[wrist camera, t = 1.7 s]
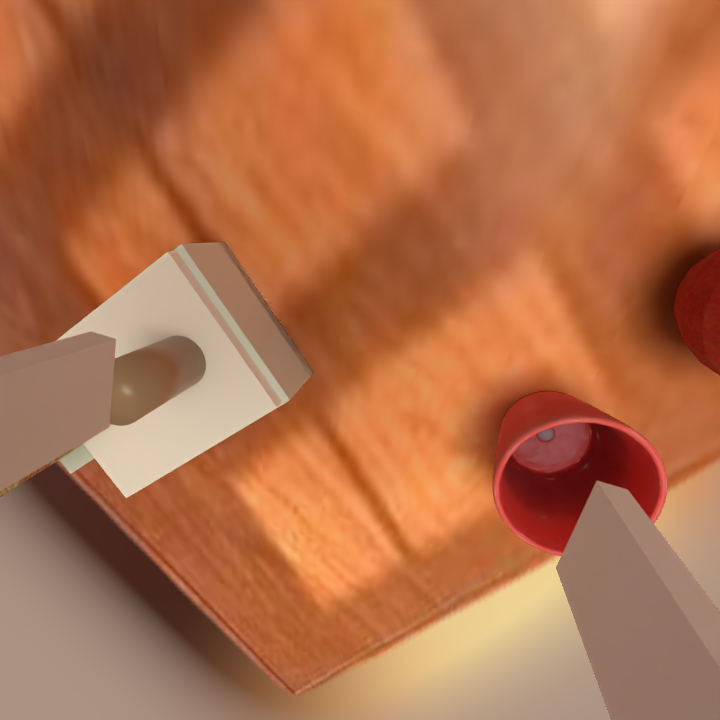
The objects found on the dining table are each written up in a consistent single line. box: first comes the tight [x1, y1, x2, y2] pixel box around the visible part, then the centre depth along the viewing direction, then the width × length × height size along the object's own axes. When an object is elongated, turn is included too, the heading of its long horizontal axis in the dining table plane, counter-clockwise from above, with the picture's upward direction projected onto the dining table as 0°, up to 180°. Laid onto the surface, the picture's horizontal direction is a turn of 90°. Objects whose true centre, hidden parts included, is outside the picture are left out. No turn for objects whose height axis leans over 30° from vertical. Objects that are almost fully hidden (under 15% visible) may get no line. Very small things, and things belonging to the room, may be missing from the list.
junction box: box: [60, 242, 313, 495], centre depth 40 cm, size 14×22×7 cm, turn 124°
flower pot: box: [493, 391, 668, 556], centre depth 35 cm, size 11×11×10 cm
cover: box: [56, 251, 282, 498], centre depth 32 cm, size 14×17×9 cm
